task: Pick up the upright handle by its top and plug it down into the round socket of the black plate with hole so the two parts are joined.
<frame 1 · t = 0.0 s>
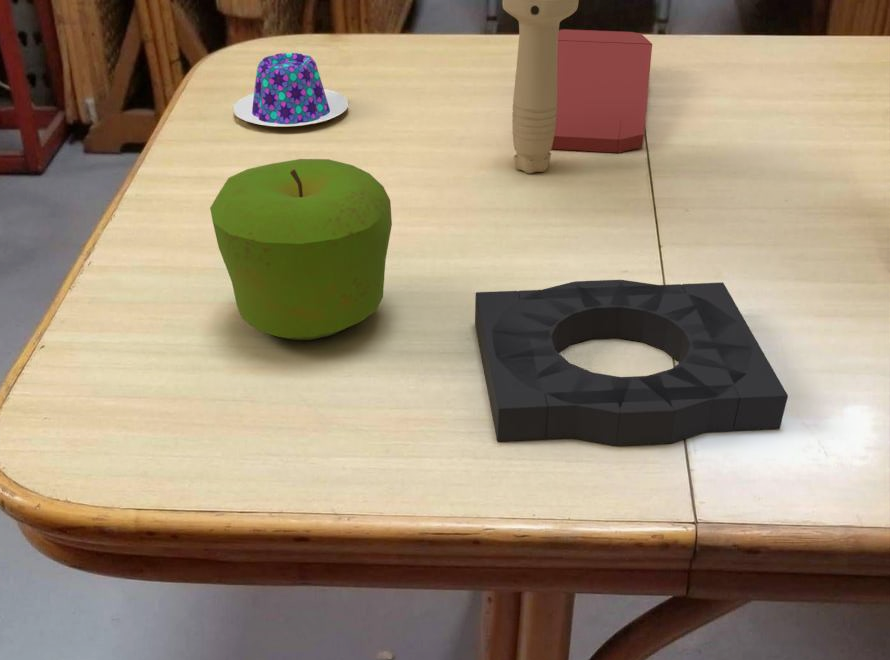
handle: (531, 170, 100), on the table
pudding: (291, 114, 112), on the table
red chamfered slab: (586, 108, 112), on the table
black plate with hole: (616, 372, 73), on the table
apple: (311, 322, 79), on the table
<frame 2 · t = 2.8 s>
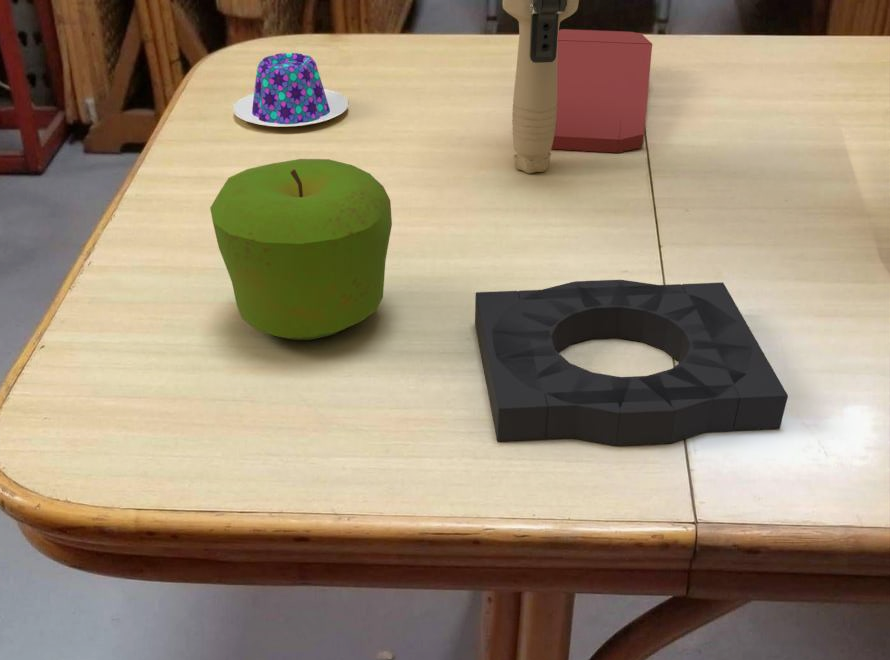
hand: (537, 49, 93), 10 cm above the table, tool pointing down, fingers closed on handle, 5 cm apart
handle: (531, 170, 100), on the table, touching gripper
everything else where it was.
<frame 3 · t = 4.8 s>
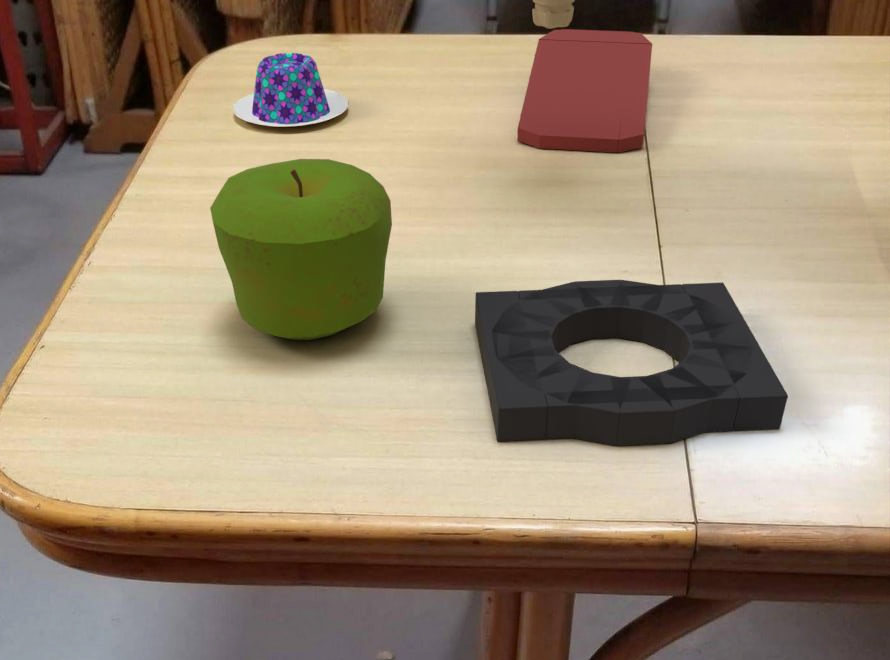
handle: (552, 26, 89), point 13 cm above the table, touching gripper
everything else where it was.
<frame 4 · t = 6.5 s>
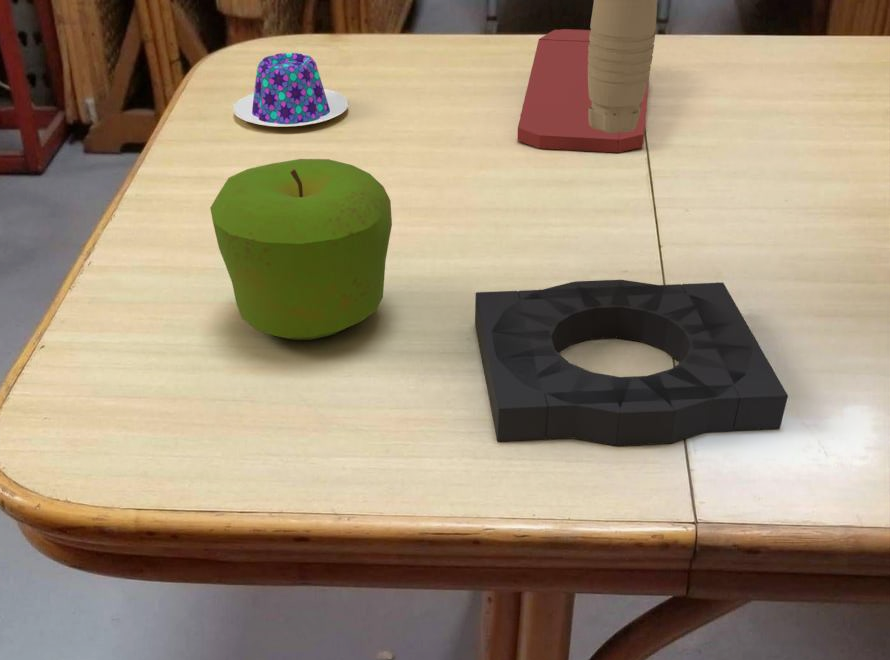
handle: (612, 130, 69), point 14 cm above the table, touching gripper
everything else where it was.
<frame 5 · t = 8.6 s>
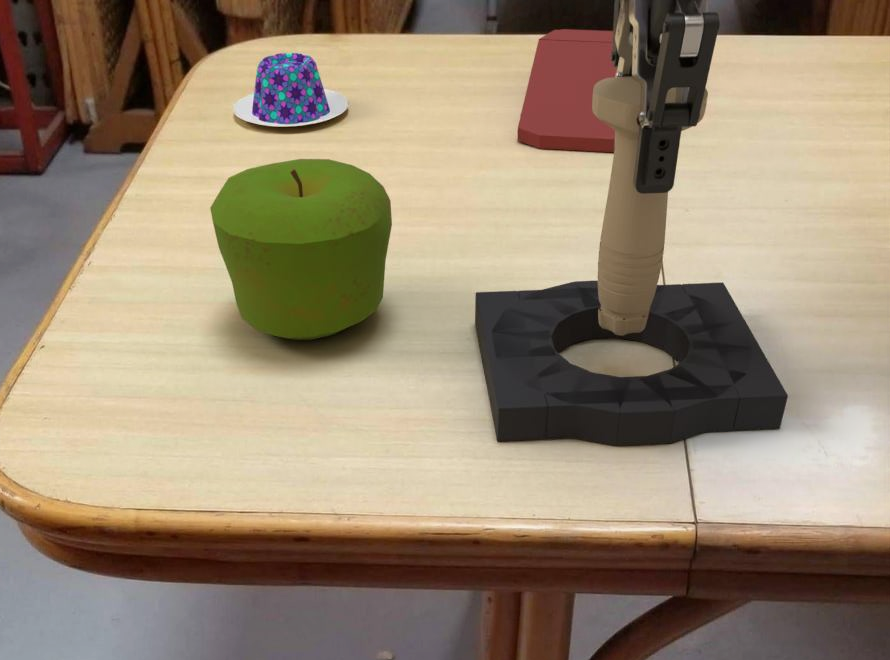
hand: (641, 169, 64), 14 cm above the table, tool pointing down, fingers closed on handle, 5 cm apart
handle: (621, 328, 71), point 3 cm above the table, touching gripper
everything else where it was.
when the fingers open (10 cm above the table, at t = 10.2 s): handle stays where it is, resting in black plate with hole.
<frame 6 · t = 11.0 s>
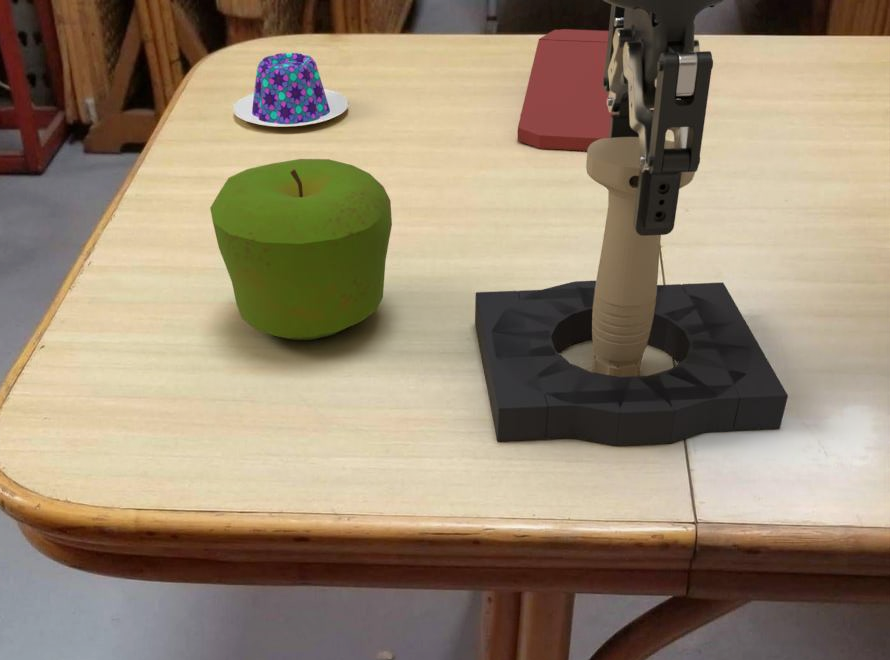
hand: (637, 202, 65), 12 cm above the table, tool pointing down, fingers open, 8 cm apart
handle: (615, 374, 73), resting in black plate with hole
everything else where it was.
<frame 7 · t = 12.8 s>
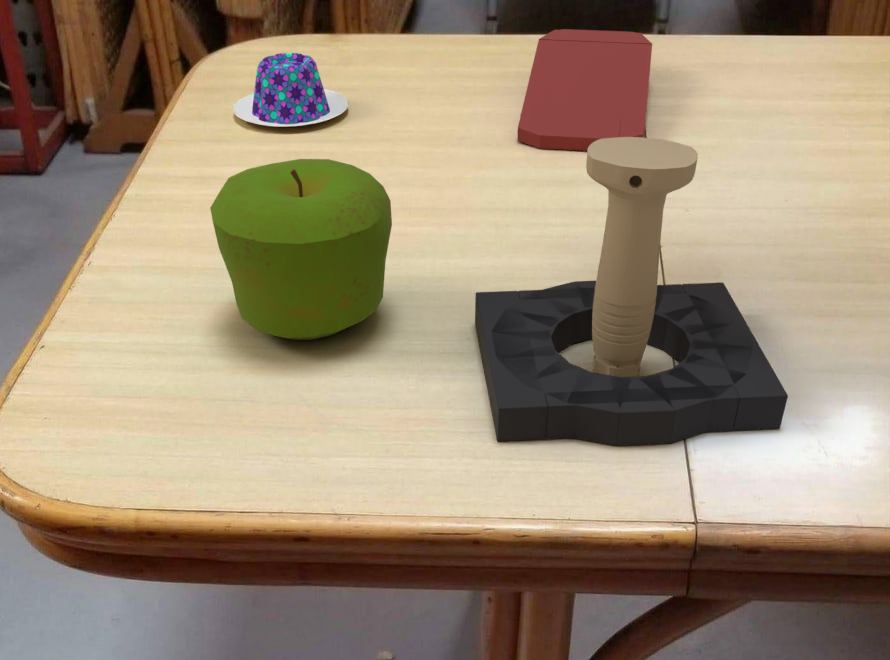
nothing on the table moved.
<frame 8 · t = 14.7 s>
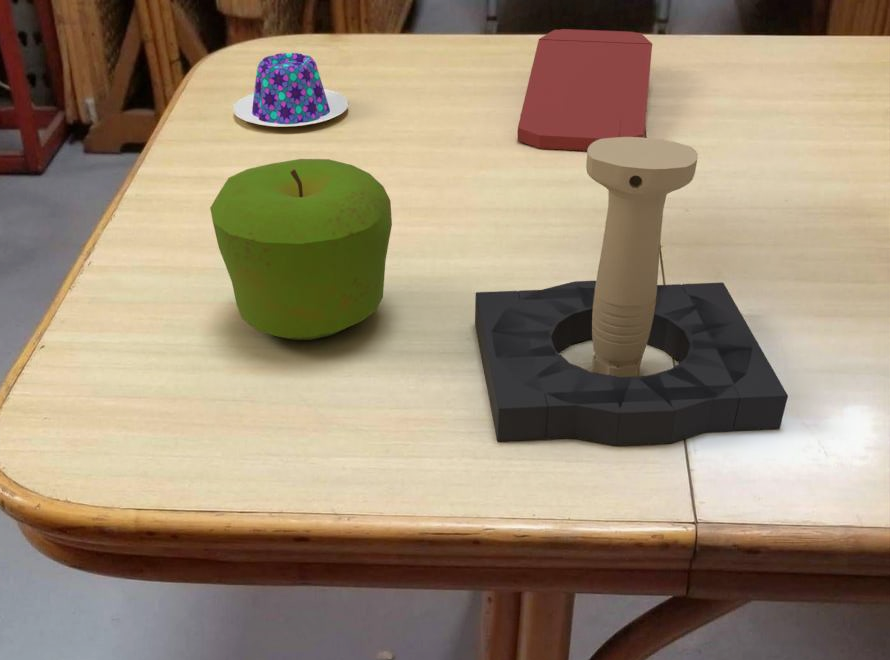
nothing on the table moved.
at the end: handle 0.0 cm off-centre in the black plate with hole, point 0.0 cm above the black plate with hole's base; handle tilted 0°; the gripper is holding nothing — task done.
